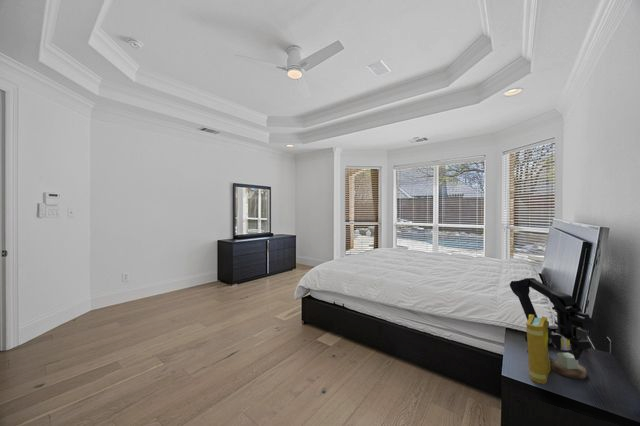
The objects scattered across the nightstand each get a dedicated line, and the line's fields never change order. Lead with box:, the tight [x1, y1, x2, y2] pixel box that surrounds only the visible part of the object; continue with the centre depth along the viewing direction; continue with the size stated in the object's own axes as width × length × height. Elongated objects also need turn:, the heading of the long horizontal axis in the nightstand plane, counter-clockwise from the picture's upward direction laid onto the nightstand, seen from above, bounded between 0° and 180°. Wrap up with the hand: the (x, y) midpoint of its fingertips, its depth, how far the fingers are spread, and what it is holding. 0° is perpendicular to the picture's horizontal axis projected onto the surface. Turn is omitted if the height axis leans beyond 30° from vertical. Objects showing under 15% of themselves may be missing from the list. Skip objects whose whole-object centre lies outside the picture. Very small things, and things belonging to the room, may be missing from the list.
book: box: [526, 314, 552, 385], centre depth 122 cm, size 17×7×25 cm, turn 134°
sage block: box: [557, 352, 580, 369], centre depth 123 cm, size 5×5×5 cm
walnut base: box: [550, 358, 587, 380], centre depth 123 cm, size 12×12×2 cm
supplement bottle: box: [553, 323, 571, 351], centre depth 145 cm, size 7×7×13 cm
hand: (567, 354), depth 123 cm, fingers open, 9 cm apart
